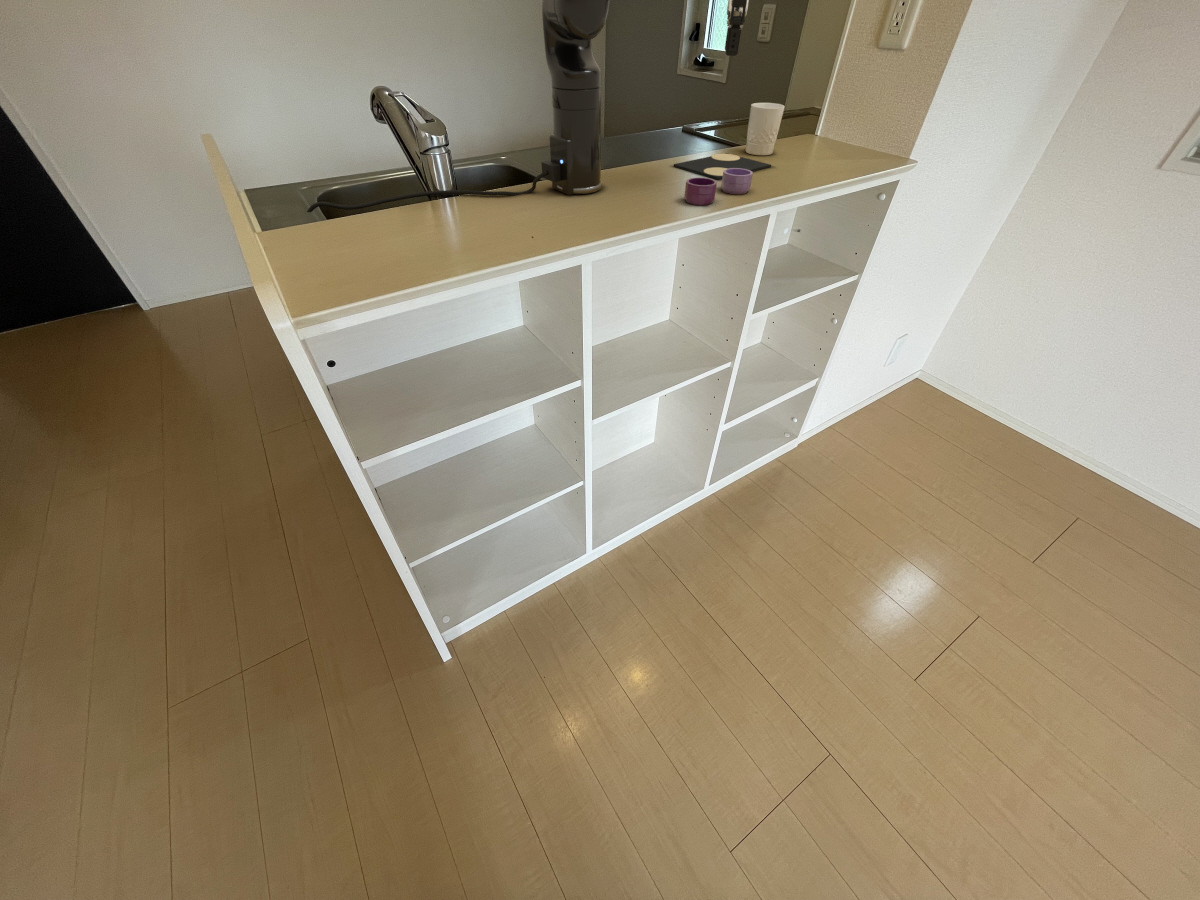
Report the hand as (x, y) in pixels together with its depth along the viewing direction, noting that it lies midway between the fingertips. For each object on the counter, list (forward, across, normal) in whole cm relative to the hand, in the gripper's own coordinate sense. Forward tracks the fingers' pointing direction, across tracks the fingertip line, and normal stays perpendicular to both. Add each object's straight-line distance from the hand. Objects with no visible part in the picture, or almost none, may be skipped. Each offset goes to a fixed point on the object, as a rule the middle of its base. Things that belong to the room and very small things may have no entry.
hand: (730, 53), depth 97 cm
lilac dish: (+22, +10, +4) cm, 24 cm away
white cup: (+22, -24, +12) cm, 35 cm away
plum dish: (+22, +18, -3) cm, 29 cm away
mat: (+21, -8, +2) cm, 23 cm away
